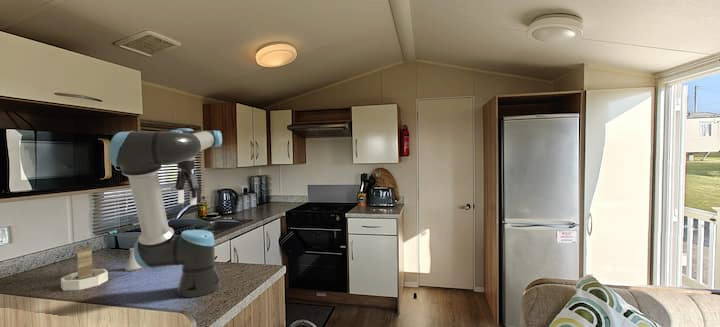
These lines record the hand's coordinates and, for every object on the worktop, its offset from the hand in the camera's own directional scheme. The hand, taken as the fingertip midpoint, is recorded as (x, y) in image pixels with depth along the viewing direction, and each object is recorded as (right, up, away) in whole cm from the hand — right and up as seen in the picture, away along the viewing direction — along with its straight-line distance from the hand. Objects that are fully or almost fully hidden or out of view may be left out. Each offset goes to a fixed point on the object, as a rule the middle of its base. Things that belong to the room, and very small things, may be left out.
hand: (187, 203), depth 156 cm
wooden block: (-33, -31, -19) cm, 49 cm away
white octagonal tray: (-33, -32, -19) cm, 50 cm away
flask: (-25, -32, -1) cm, 41 cm away
